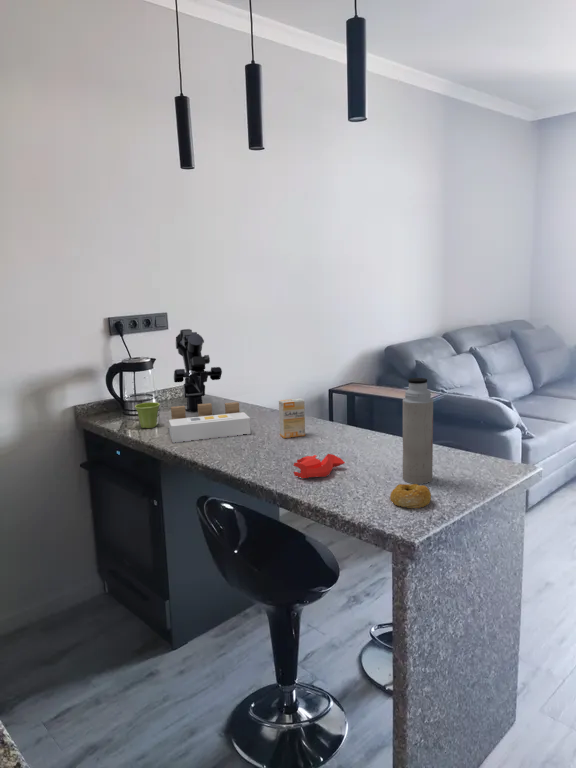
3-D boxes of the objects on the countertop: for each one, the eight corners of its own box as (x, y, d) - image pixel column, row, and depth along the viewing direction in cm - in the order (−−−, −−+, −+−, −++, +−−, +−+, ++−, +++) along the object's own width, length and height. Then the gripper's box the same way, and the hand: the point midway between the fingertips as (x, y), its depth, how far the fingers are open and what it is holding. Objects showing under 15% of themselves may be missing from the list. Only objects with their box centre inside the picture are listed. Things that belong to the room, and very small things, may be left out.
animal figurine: (350, 471, 167) (350, 454, 166) (314, 484, 157) (314, 466, 156) (322, 462, 176) (322, 446, 175) (285, 474, 166) (285, 457, 165)
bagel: (431, 494, 147) (431, 477, 146) (430, 512, 136) (430, 493, 135) (391, 493, 149) (391, 475, 148) (388, 510, 139) (388, 491, 138)
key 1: (172, 427, 217) (170, 407, 216) (185, 426, 218) (184, 405, 217) (173, 429, 215) (171, 408, 213) (186, 427, 216) (185, 407, 215)
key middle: (198, 424, 220) (197, 404, 218) (211, 423, 221) (210, 403, 220) (199, 426, 217) (198, 405, 216) (213, 425, 219) (211, 404, 217)
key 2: (225, 423, 220) (224, 403, 219) (238, 422, 221) (237, 401, 220) (227, 425, 218) (226, 404, 216) (240, 423, 219) (239, 403, 218)
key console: (168, 430, 218) (166, 413, 217) (240, 422, 226) (239, 406, 225) (172, 442, 201) (171, 424, 200) (250, 434, 209) (249, 416, 208)
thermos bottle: (431, 474, 161) (432, 375, 156) (433, 484, 153) (434, 381, 148) (402, 473, 162) (402, 376, 157) (402, 483, 155) (402, 381, 150)
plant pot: (165, 426, 224) (163, 405, 222) (141, 431, 219) (139, 408, 217) (156, 422, 232) (154, 401, 230) (133, 426, 226) (131, 404, 225)
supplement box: (283, 439, 201) (282, 402, 199) (279, 435, 206) (278, 399, 203) (305, 436, 204) (304, 400, 201) (301, 432, 208) (300, 397, 206)
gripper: (173, 349, 225) (178, 382, 217) (220, 347, 231) (227, 379, 223) (171, 365, 234) (176, 398, 226) (216, 363, 240) (223, 394, 232)
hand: (200, 392), depth 227 cm, fingers closed
